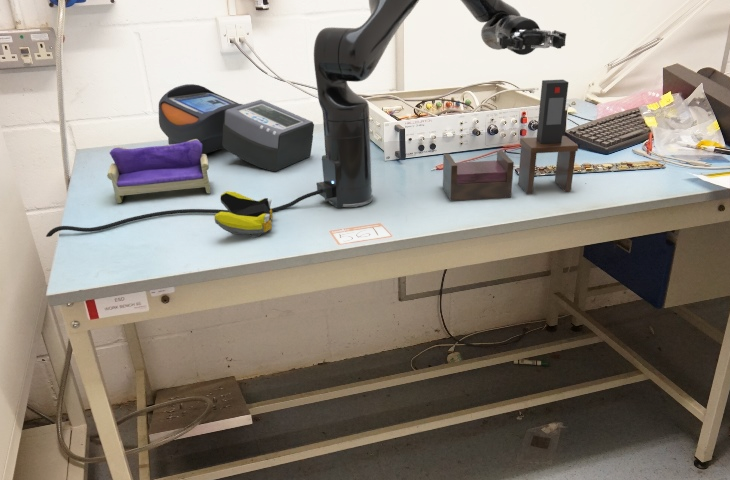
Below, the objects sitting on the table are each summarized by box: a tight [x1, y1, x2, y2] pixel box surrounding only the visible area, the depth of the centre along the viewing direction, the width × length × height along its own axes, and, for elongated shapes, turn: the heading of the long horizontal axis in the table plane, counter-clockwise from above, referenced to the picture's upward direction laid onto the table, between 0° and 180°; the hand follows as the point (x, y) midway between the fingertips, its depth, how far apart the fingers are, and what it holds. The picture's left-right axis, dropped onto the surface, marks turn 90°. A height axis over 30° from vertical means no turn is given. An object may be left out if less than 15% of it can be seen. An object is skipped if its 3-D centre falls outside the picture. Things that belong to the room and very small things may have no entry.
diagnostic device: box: [158, 83, 315, 172], centre depth 167 cm, size 38×17×22 cm
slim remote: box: [536, 79, 569, 144], centre depth 134 cm, size 4×3×12 cm
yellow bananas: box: [214, 190, 274, 238], centre depth 125 cm, size 15×6×10 cm
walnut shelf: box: [517, 135, 579, 195], centre depth 140 cm, size 10×8×10 cm
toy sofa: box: [106, 139, 212, 204], centre depth 142 cm, size 21×9×10 cm, turn 105°
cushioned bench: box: [442, 150, 515, 202], centre depth 139 cm, size 13×9×8 cm
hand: (540, 43), depth 137 cm, fingers open, 8 cm apart
